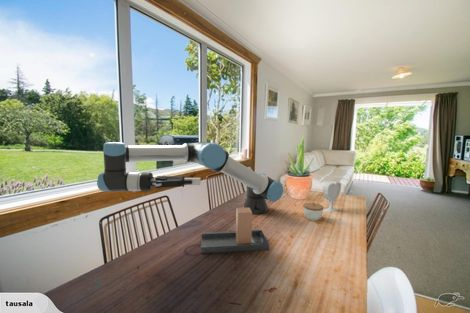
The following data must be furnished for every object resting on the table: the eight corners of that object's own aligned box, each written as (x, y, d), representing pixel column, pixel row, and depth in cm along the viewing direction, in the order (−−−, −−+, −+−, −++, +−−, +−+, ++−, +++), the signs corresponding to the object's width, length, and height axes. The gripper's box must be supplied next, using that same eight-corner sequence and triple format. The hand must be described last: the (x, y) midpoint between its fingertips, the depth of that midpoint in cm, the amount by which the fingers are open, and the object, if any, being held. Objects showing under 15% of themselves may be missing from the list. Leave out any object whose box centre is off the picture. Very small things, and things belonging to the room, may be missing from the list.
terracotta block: (237, 244, 91) (237, 212, 90) (235, 237, 97) (236, 207, 96) (251, 243, 92) (252, 212, 90) (248, 237, 98) (249, 207, 96)
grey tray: (200, 253, 86) (200, 247, 86) (201, 237, 99) (201, 232, 99) (268, 249, 89) (268, 244, 89) (261, 235, 102) (261, 230, 102)
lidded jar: (323, 217, 126) (324, 201, 125) (322, 223, 116) (323, 207, 115) (304, 213, 130) (304, 198, 129) (301, 220, 120) (302, 204, 119)
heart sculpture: (327, 213, 132) (329, 184, 130) (320, 210, 136) (321, 182, 134) (340, 208, 141) (342, 181, 139) (333, 206, 145) (335, 179, 143)
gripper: (146, 186, 94) (200, 186, 96) (136, 195, 81) (199, 194, 84) (145, 169, 93) (201, 169, 96) (135, 175, 80) (199, 175, 83)
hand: (200, 181), depth 90 cm, fingers closed
